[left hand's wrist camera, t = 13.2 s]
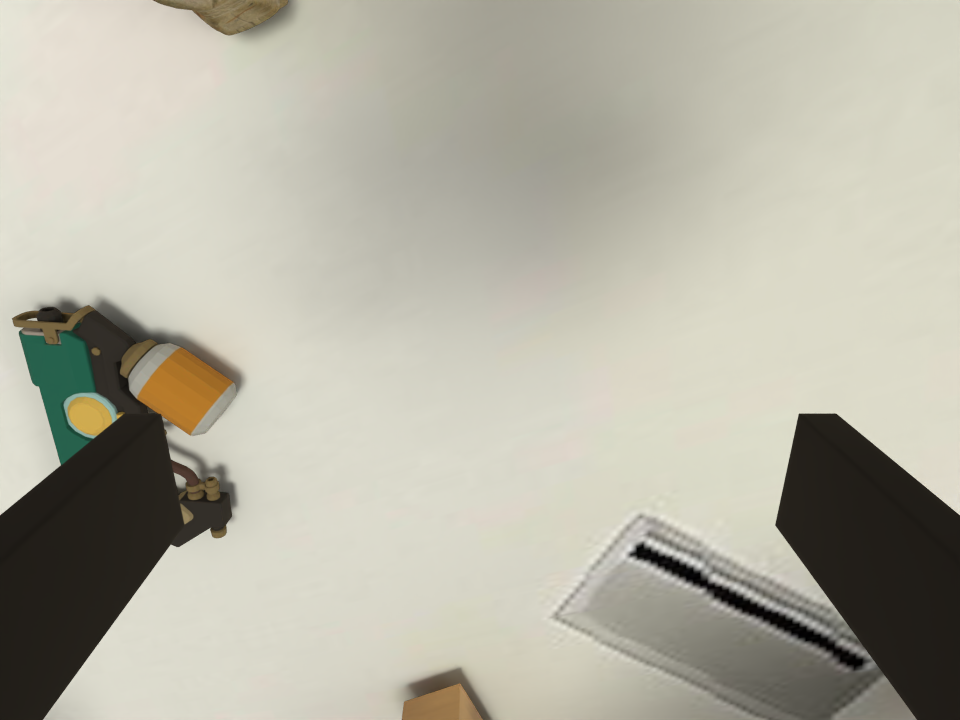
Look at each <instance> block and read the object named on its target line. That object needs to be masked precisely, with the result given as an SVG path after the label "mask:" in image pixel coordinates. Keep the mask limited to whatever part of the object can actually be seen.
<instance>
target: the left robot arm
mask: <svg viewBox="0 0 960 720" xmlns="http://www.w3.org/2000/svg"><path fill="white" fill-rule="evenodd" d="M183 527H184V520H183V515H182V510H181V506H180V501H179V496H178V491H177V487H176V482H175V477H174V473H173V468H172V463H171V458H170V454H169V449H168V444H167V439H166V435H165V430H164V425H163V421H162V416H161V414H123V415H122V416H120V417H119V418H118V419H117V420H116V421H114V422H113V423H112V424H111V425H109V426H108V427H107V428H106V429H105V430H103V431H102V432H101V433H100V434H99V435H97V436H96V437H95V438H94V439H92V440H91V441H90V442H89V443H88V444H86V445H85V446H84V447H83V448H82V449H80V450H79V451H78V452H77V453H75V454H74V455H73V456H72V457H71V458H69V459H68V460H67V461H66V462H65V463H63V464H62V465H61V466H60V467H58V468H57V469H56V470H55V471H54V472H52V473H51V474H50V475H49V476H48V477H46V478H45V479H44V480H43V481H41V482H40V483H39V484H38V485H37V486H35V487H34V488H33V489H32V490H31V491H29V492H28V493H27V494H26V495H24V496H23V497H22V498H21V499H20V500H18V501H17V502H16V503H15V504H13V505H12V506H11V507H10V508H9V509H7V510H6V511H5V512H4V513H3V514H1V515H0V720H43V719H44V717H45V716H46V715H47V713H48V712H49V710H50V709H51V708H52V706H53V705H54V704H55V702H56V701H57V699H58V698H59V697H60V695H61V694H62V693H63V691H64V690H65V689H66V687H67V686H68V684H69V683H70V682H71V680H72V679H73V678H74V676H75V675H76V673H77V672H78V671H79V669H80V668H81V667H82V665H83V664H84V662H85V661H86V660H87V658H88V657H89V656H90V654H91V653H92V652H93V650H94V649H95V647H96V646H97V645H98V643H99V642H100V641H101V639H102V638H103V636H104V635H105V634H106V632H107V631H108V630H109V628H110V627H111V625H112V624H113V623H114V621H115V620H116V619H117V617H118V616H119V615H120V613H121V612H122V610H123V609H124V608H125V606H126V605H127V604H128V602H129V601H130V599H131V598H132V597H133V595H134V594H135V593H136V591H137V590H138V588H139V587H140V586H141V584H142V583H143V582H144V580H145V579H146V578H147V576H148V575H149V573H150V572H151V571H152V569H153V568H154V567H155V565H156V564H157V562H158V561H159V560H160V558H161V557H162V556H163V554H164V553H165V552H166V550H167V549H168V547H169V546H170V545H171V543H172V542H173V541H174V539H175V538H176V536H177V535H178V534H179V532H180V531H181V530H182V528H183ZM776 527H777V528H778V530H779V531H780V532H781V534H782V535H783V536H784V538H785V539H786V541H787V542H788V543H789V545H790V546H791V547H792V549H793V550H794V552H795V553H796V554H797V556H798V557H799V558H800V560H801V561H802V562H803V564H804V565H805V567H806V568H807V569H808V571H809V572H810V573H811V575H812V576H813V578H814V579H815V580H816V582H817V583H818V584H819V586H820V587H821V588H822V590H823V591H824V593H825V594H826V595H827V597H828V598H829V599H830V601H831V602H832V604H833V605H834V606H835V608H836V609H837V610H838V612H839V613H840V615H841V616H842V617H843V619H844V620H845V621H846V623H847V624H848V625H849V627H850V628H851V630H852V631H853V632H854V634H855V635H856V636H857V638H858V639H859V641H860V642H861V643H862V645H863V646H864V647H865V649H866V650H867V652H868V653H869V654H870V656H871V657H872V658H873V660H874V661H875V662H876V664H877V665H878V667H879V668H880V669H881V671H882V672H883V673H884V675H885V676H886V678H887V679H888V680H889V682H890V683H891V684H892V686H893V687H894V689H895V690H896V691H897V693H898V694H899V695H900V697H901V698H902V699H903V701H904V702H905V704H906V705H907V706H908V708H909V709H910V710H911V712H912V713H913V715H914V716H915V717H916V719H917V720H960V515H959V514H957V513H956V512H955V511H954V510H953V509H951V508H950V507H949V506H948V505H947V504H945V503H944V502H943V501H942V500H940V499H939V498H938V497H937V496H936V495H934V494H933V493H932V492H931V491H929V490H928V489H927V488H926V487H925V486H923V485H922V484H921V483H920V482H919V481H917V480H916V479H915V478H914V477H912V476H911V475H910V474H909V473H908V472H906V471H905V470H904V469H903V468H902V467H900V466H899V465H898V464H897V463H895V462H894V461H893V460H892V459H891V458H889V457H888V456H887V455H886V454H885V453H883V452H882V451H881V450H880V449H878V448H877V447H876V446H875V445H874V444H872V443H871V442H870V441H869V440H868V439H866V438H865V437H864V436H863V435H861V434H860V433H859V432H858V431H857V430H855V429H854V428H853V427H852V426H851V425H849V424H848V423H847V422H846V421H844V420H843V419H842V418H841V417H840V416H838V415H837V414H799V416H798V421H797V425H796V430H795V435H794V439H793V444H792V449H791V454H790V458H789V463H788V468H787V473H786V477H785V482H784V487H783V491H782V496H781V501H780V506H779V510H778V515H777V520H776Z"/></svg>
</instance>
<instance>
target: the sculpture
mask: <svg viewBox="0 0 960 720" xmlns="http://www.w3.org/2000/svg"><path fill="white" fill-rule="evenodd" d="M154 1H156V2H158V3H160V4H163V5H166V6H170V7H174V8H178V9H187V10H192V11H193V12H194V13H196V14H197V15H198V16H199V17H200V18H201V19H202V20H203V21H205V22H206V23H207V24H208V25H210V26H211V27H212V28H214V29H215V30H217V31H219V32H221V33H223V34H225V35H234V34H237V33H240V32H243V31H245V30H247V29H250V28H252V27H254V26H256V25H258V24H260V23H262V22H264V21H266V20H267V19H269V18H271V17H272V16H273V15H274V14H276V13H277V12H278V10H279V9H280V8H282V7H284V6H285V5H287V3H288V0H154Z"/></svg>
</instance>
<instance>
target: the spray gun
mask: <svg viewBox="0 0 960 720" xmlns="http://www.w3.org/2000/svg"><path fill="white" fill-rule="evenodd" d="M31 318H37V320H38V321H29V320H28V319H31ZM12 320H13V324H14V326H15V327H24V328H23V329H22V330H20V331H19V336H20V340H21V343H22V347H23V351H24V354H25V358H26V362H27V365H28V369H29V373H30V376H31V380H32V382H33V384H34V385H35V386H39V388H40V392H41V395H42V399H43V402H44V406H45V409H46V413H47V417H48V420H49V424H50V427H51V431H52V435H53V438H54V442H55V445H56V449H57V452H58V456H59V460H60V463H61V465H62V464H63V463H65V462H66V461H67V460H68V459H69V458H71V457H72V456H73V455H74V454H75V453H77V452H78V451H79V450H80V449H82V448H83V447H84V446H85V445H86V444H88V443H89V442H90V441H91V440H92V439H94V438H95V437H96V436H97V435H99V434H100V433H101V432H102V431H103V430H105V429H106V428H107V427H108V426H109V425H111V424H112V423H113V422H114V421H116V420H117V419H118V418H119V417H120V416H122V415H123V414H148V411H147V406H148V407H149V408H151V409H152V410H154V411H155V412H157V413H158V414H161V416H163V417H164V418H165V419H167V420H168V421H170V422H171V423H173V424H174V425H176V426H177V427H179V428H180V429H182V430H183V431H185V432H186V433H187V434H189V435H191V436H195V435H200V434H204V433H206V432H207V431H208V430H209V429H210V428H211V427H212V425H213V424H214V423H215V422H216V421H217V420H218V418H219V417H220V416H221V415H222V413H223V412H224V411H225V410H226V408H227V407H228V406H229V405H230V403H231V402H232V401H233V399H234V398H235V396H236V395H237V392H236V385H235V383H234V382H232V381H231V380H229V379H228V378H226V377H225V376H223V375H222V374H221V373H219V372H218V371H216V370H215V369H213V368H212V367H210V366H209V365H207V364H206V363H204V362H203V361H201V360H200V359H198V358H197V357H195V356H194V355H192V354H191V353H190V352H188V351H187V350H185V349H184V348H182V347H179V346H176V345H174V344H171V343H167V344H159V345H158V343H156V342H155V341H153V340H151V339H148V340H146V341H144V342H141V343H136V342H135V341H134V340H133V339H132V338H131V337H130V336H129V335H127V334H126V333H125V332H123V331H122V330H121V329H120V328H118V327H117V326H116V325H114V324H113V323H112V322H110V321H109V320H108V319H106V318H105V317H104V316H103V315H101V314H100V313H99V312H97V311H95V309H94V308H92V307H91V306H89V305H88V306H85V307H83V308H81V309H80V310H78V311H77V312H76V313H63V312H60V311H59V310H58V309H56V308H54V307H47V308H43V309H40V310H39V311H29V312H25V313H22V314H19V315H17V316H15V317H14V318H12ZM78 321H79V322H81V323H77V322H78ZM76 323H77V324H76ZM135 343H136V344H135ZM127 378H128V379H127ZM128 381H129V382H128ZM164 430H165V429H164ZM166 434H167V432H166V430H165V435H166ZM171 463H172V468H173V472H174V473H177V474H179V475H181V476H182V477H184V478H185V479H186V480H187V482H186V491H184V492H182V493H181V494H180V495H179V501H180V506H181V510H182V515H183V520H184V527H183V528H182V530H181V531H180V532H179V534H178V535H177V536H176V538H175V539H174V541H173V542H172V543H171V545H174V546H176V547H180V546H181V545H183V544H185V543H186V542H188V541H190V540H191V539H193V538H194V537H196V536H198V535H199V534H201V533H203V532H204V531H206V530H207V529H209V528H211V529H210V530H211V533H212V537H214V538H221V537H223V536H225V535H226V533H227V528H226V524H227V523H228V521H229V520H230V518H231V517H232V512H231V505H230V498H229V493H227V492H219V491H218V490H219V489H220V488H219V482H218V481H217V478H216V477H209V478H208V479H206V481H205V482H201V480H200V479H199V478H198V477H197V476H196V474H195V473H194V472H193V471H192V470H191V469H189V468H188V467H186V466H184V465H182V464H179V463H177V462H175V461H173V460H171ZM203 490H205V491H203Z"/></svg>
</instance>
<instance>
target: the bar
mask: <svg viewBox="0 0 960 720" xmlns="http://www.w3.org/2000/svg"><path fill="white" fill-rule="evenodd" d="M402 720H483V719H482V718H481V716H480V714H479V713H478V711H477V709H476V708H475V706H474V705H473V703H472V701H471V700H470V698H469V697H468V695H467V693H466V692H465V690H464V689H463V687H462V685H461V684H460V683H459V684H456V685H453V686H450V687H447V688H444V689H441V690H438V691H435V692H432V693H429V694H426V695H423V696H420V697H417V698H414V699H411V700H408V701H405V702H404V707H403V715H402Z"/></svg>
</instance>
